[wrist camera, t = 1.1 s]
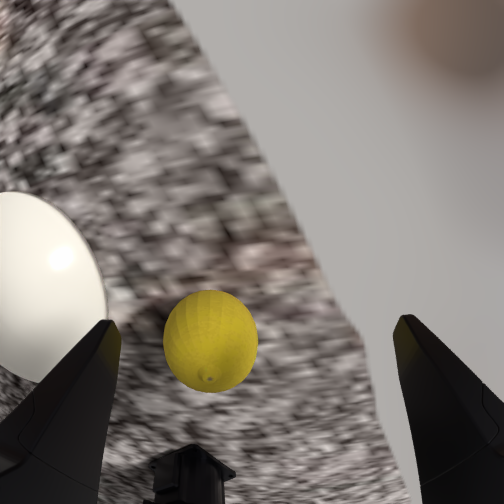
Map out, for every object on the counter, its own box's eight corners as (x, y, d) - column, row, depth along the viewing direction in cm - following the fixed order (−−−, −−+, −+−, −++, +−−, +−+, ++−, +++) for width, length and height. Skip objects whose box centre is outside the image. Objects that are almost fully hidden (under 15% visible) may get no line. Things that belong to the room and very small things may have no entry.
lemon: (188, 352, 23) (178, 426, 15) (161, 285, 21) (134, 345, 14) (259, 333, 23) (278, 404, 15) (238, 263, 22) (249, 315, 14)
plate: (151, 319, 22) (147, 327, 21) (39, 399, 23) (34, 406, 22) (25, 146, 18) (16, 145, 17) (-59, 268, 19) (-67, 272, 18)
